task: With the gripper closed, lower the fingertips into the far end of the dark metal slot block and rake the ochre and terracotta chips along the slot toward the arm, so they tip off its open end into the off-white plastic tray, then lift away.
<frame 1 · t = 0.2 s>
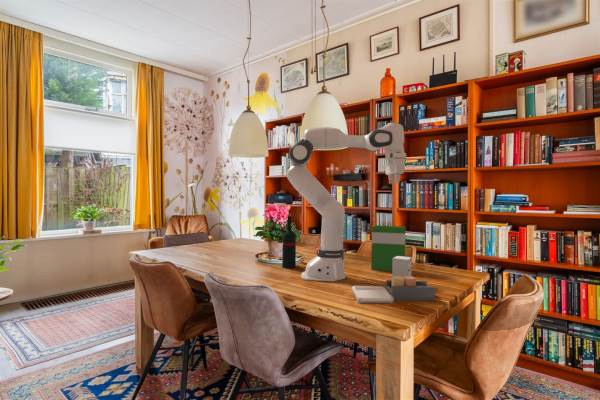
hand: (394, 183, 169), 48 cm above the table, tool pointing down, fingers open, 8 cm apart
far chip: (409, 287, 140), point 4 cm above the table, touching slot block
wine bottle: (289, 266, 193), on the table
tray: (371, 296, 140), on the table
supplement box: (401, 284, 159), on the table
near chip: (397, 287, 140), point 4 cm above the table, touching slot block
slot block: (409, 296, 140), on the table
hardback book: (387, 269, 188), on the table
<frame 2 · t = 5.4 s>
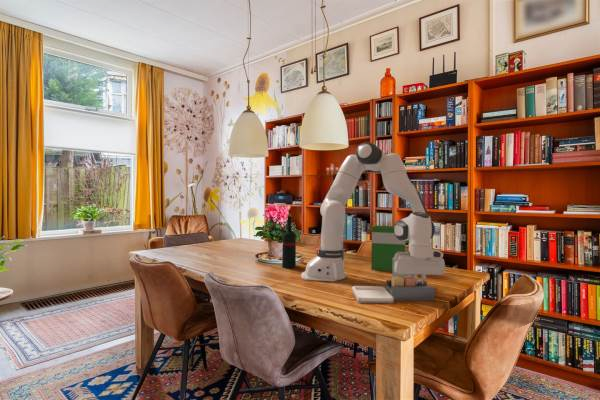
hand: (418, 284, 140), 5 cm above the table, tool pointing down, fingers closed
far chip: (408, 287, 140), point 4 cm above the table, touching gripper, slot block
everything else where it was.
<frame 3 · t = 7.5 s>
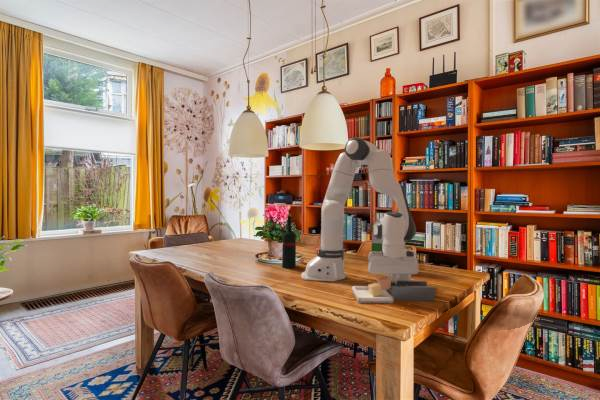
hand: (392, 284, 140), 5 cm above the table, tool pointing down, fingers closed
far chip: (384, 288, 139), point 4 cm above the table, tilted 11°, touching gripper, near chip
near chip: (379, 288, 140), point 4 cm above the table, tilted 101°, touching far chip, tray
everything else where it was.
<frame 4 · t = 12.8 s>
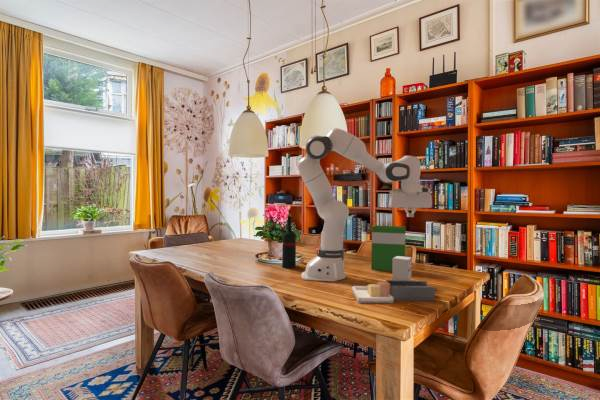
hand: (410, 216, 166), 31 cm above the table, tool pointing down, fingers closed
far chip: (383, 292, 139), point 2 cm above the table, touching near chip, tray
near chip: (378, 290, 140), point 3 cm above the table, tilted 90°, touching far chip, tray
everything else where it was.
at the end: near chip inside the target area on the tray (2.7 cm from its centre), point 2.8 cm above the tray's base; far chip inside the target area on the tray (4.8 cm from its centre), point 2.0 cm above the tray's base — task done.
